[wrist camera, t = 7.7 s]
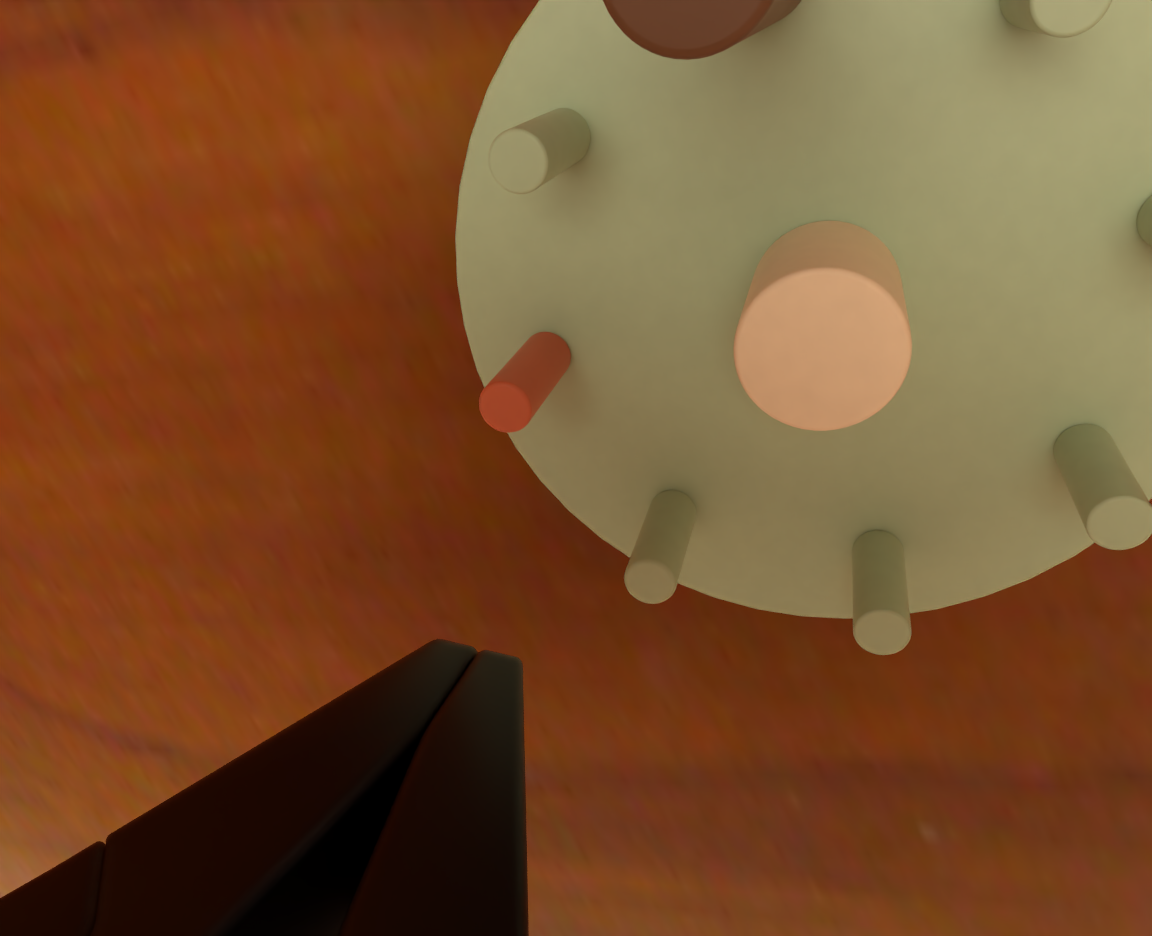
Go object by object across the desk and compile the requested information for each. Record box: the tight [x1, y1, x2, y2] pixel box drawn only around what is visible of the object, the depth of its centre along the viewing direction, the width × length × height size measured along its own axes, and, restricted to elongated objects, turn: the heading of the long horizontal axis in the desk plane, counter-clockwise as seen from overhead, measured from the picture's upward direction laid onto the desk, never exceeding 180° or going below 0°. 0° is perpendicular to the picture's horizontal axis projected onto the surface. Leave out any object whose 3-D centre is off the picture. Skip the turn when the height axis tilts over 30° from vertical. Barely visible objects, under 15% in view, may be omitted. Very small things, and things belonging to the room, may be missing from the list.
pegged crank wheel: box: [455, 0, 1152, 655], centre depth 13 cm, size 13×13×8 cm
